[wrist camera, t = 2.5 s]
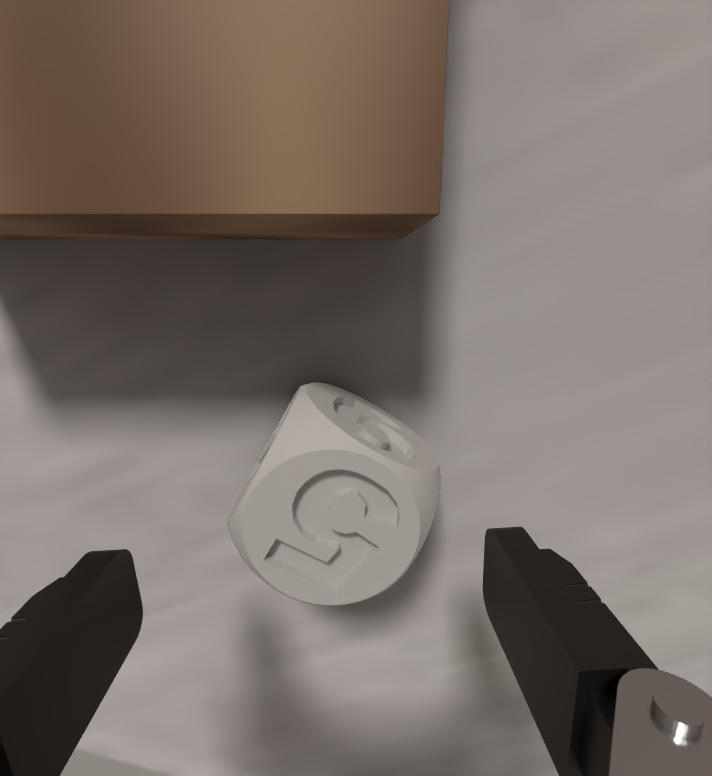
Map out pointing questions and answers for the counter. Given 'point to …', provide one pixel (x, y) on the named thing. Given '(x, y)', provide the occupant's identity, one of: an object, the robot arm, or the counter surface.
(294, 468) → the die
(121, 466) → the counter surface
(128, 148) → the walnut block
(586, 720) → the robot arm
